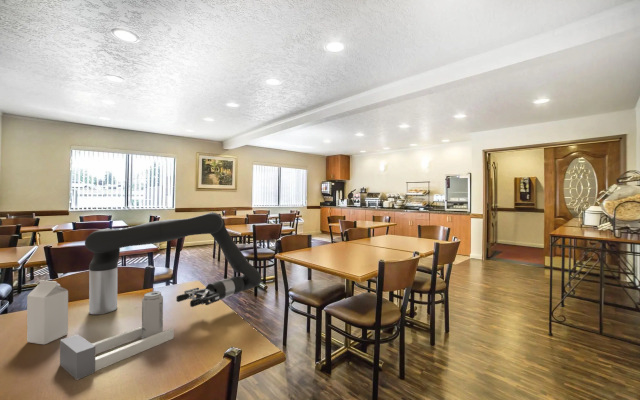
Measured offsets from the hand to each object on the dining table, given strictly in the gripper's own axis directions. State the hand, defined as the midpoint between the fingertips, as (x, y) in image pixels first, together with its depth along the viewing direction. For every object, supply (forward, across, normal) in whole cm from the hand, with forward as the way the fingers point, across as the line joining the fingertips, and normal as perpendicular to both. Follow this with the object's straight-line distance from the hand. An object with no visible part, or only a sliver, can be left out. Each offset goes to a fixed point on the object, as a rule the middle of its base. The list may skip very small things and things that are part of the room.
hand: (183, 301), depth 105 cm
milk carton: (+30, -28, +9) cm, 42 cm away
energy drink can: (+11, 0, +9) cm, 14 cm away
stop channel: (+20, 0, +9) cm, 22 cm away
